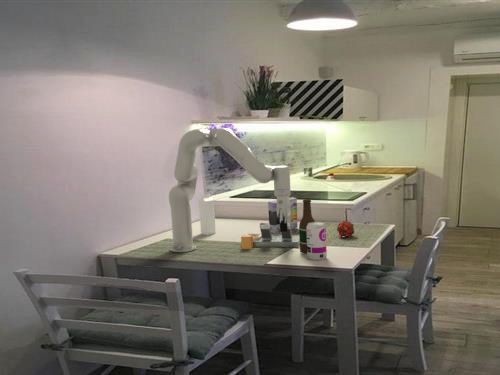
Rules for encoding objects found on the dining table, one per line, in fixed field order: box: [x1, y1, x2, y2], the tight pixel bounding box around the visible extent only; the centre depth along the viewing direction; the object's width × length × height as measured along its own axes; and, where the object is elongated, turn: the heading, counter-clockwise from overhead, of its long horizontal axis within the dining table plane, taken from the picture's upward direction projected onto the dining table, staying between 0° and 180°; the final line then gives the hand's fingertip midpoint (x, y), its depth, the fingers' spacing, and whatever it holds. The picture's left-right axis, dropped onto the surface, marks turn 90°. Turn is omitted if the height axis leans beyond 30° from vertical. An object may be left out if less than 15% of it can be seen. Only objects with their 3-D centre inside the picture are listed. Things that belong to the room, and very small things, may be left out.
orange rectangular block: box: [240, 234, 253, 250], centre depth 224 cm, size 4×4×6 cm
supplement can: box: [306, 221, 328, 261], centre depth 200 cm, size 8×8×15 cm
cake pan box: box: [267, 197, 299, 235], centre depth 259 cm, size 19×5×18 cm, turn 129°
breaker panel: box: [240, 233, 300, 248], centre depth 231 cm, size 14×28×4 cm, turn 76°
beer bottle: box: [298, 198, 316, 255], centre depth 211 cm, size 8×8×24 cm
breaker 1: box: [259, 222, 273, 239], centre depth 227 cm, size 2×5×9 cm, turn 76°
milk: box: [198, 193, 216, 236], centre depth 261 cm, size 6×6×22 cm
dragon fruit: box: [336, 220, 355, 237], centre depth 239 cm, size 8×8×12 cm
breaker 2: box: [280, 223, 293, 239], centre depth 225 cm, size 2×5×9 cm, turn 76°
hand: (283, 231), depth 219 cm, fingers closed
